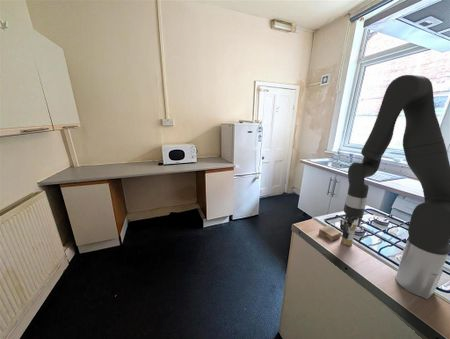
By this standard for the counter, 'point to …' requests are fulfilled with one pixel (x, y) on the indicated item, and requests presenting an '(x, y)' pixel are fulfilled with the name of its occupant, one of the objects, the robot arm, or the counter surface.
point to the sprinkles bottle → (350, 235)
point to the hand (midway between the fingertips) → (348, 236)
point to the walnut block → (330, 233)
